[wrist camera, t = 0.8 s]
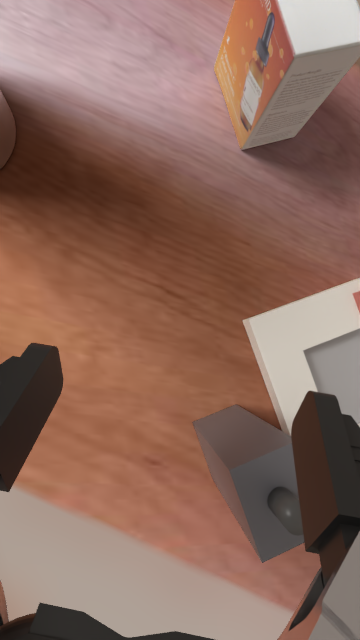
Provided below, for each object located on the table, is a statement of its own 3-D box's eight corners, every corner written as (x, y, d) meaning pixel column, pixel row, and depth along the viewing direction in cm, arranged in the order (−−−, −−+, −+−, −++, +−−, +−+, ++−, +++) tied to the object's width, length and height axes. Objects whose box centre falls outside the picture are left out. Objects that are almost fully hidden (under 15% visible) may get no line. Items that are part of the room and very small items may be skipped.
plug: (192, 422, 29) (241, 486, 16) (236, 404, 29) (317, 452, 16) (212, 479, 29) (278, 590, 16) (256, 460, 29) (353, 552, 16)
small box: (212, 69, 31) (252, -70, 21) (268, 57, 32) (334, -82, 21) (239, 153, 31) (294, 56, 20) (295, 139, 32) (375, 39, 21)
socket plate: (242, 320, 30) (251, 318, 27) (379, 270, 32) (399, 264, 30) (305, 496, 29) (321, 510, 27) (440, 434, 32) (465, 441, 29)
